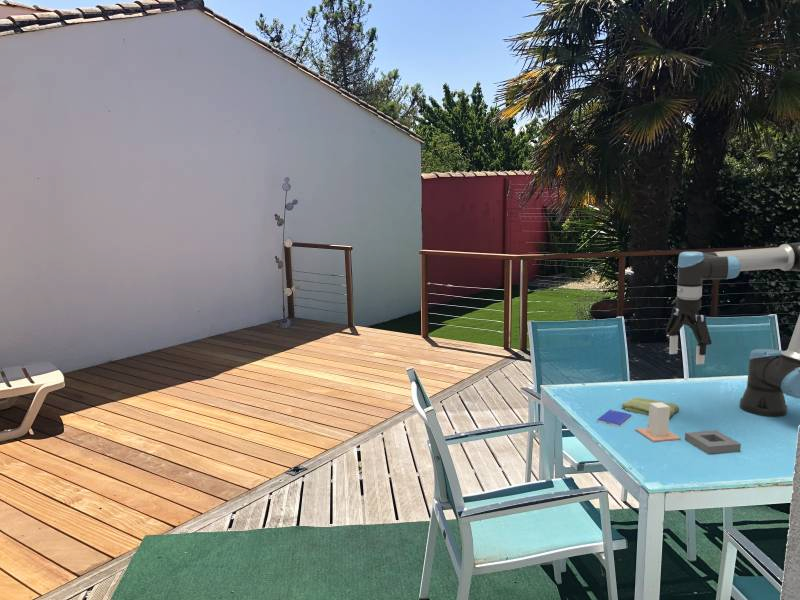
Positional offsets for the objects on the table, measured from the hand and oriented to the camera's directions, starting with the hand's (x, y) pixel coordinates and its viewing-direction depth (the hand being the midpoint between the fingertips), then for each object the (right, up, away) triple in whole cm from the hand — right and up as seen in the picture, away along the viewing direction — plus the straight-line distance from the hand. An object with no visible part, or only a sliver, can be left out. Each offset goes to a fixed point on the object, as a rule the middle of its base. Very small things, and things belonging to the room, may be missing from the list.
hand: (686, 358), depth 205 cm
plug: (-12, -25, -4) cm, 28 cm away
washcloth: (-5, -22, +19) cm, 29 cm away
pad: (-12, -25, -4) cm, 28 cm away
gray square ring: (+2, -27, -13) cm, 30 cm away
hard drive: (-21, -24, +10) cm, 33 cm away
